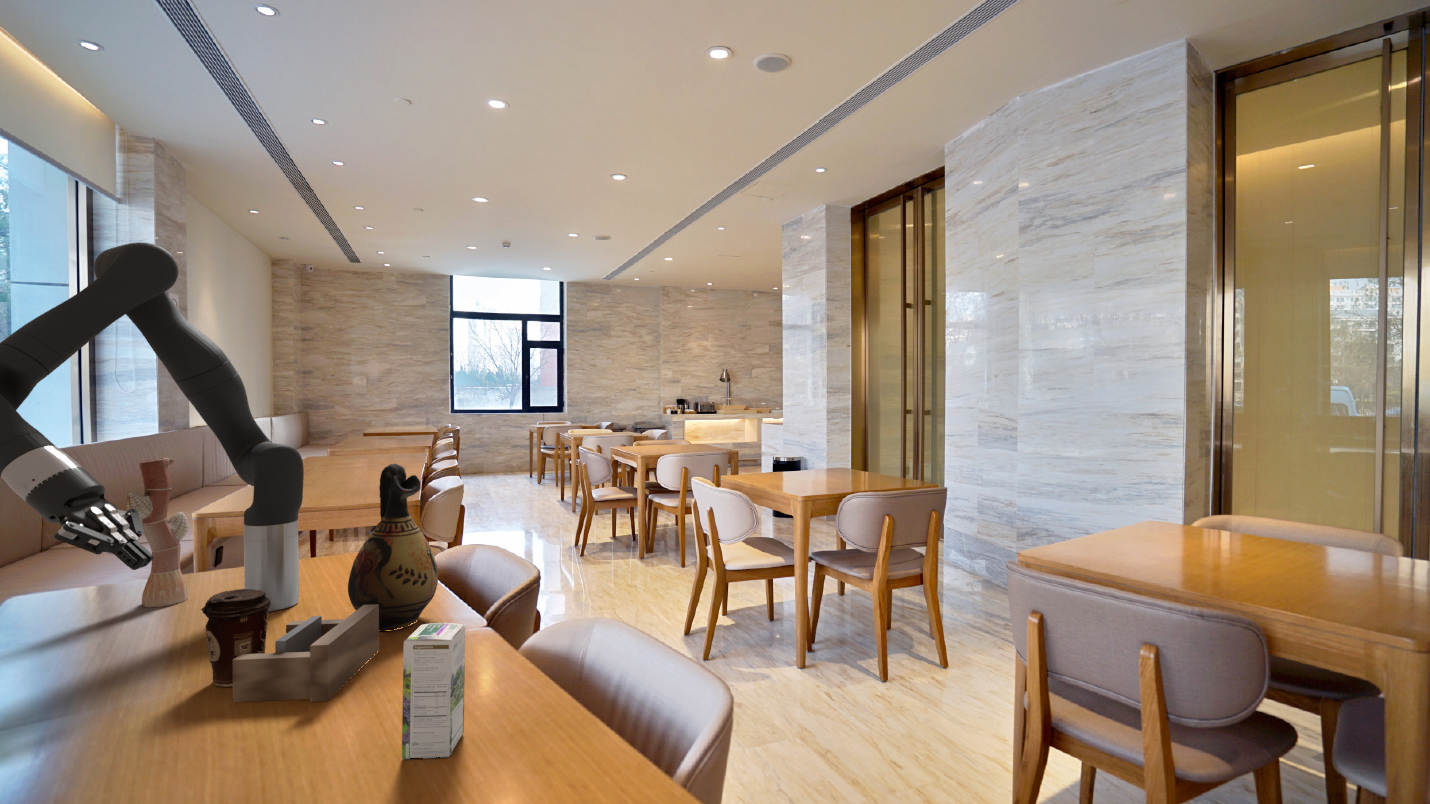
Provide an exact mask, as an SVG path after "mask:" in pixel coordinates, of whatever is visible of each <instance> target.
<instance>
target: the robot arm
mask: <svg viewBox="0 0 1430 804" xmlns="http://www.w3.org/2000/svg"><path fill="white" fill-rule="evenodd" d="M93 271H94V275H95V278H96V279H95V280H94V281H92V282H91V283H90V284H89V285H87V286H86V287H84V288H83V289H82V290H80V291H78V292H77V293H76V294H75V295H72V296H71V297H70V298H67V300H65V301H63V302H61V303H59V304H58V305H56V306H54V307H52V308H50V309H49V310H47V311H45V312H44V313H42V314H40V315H39V316H37V317H35V318H33V319H32V320H30V321H29V322H27V323H26V324H24V325H22V326H21V327H20V328H18V329H17V330H15V331H14V332H13V333H11V334H9V336H7V337H6V338H5V339H3V340H2V341H0V478H1V479H3V480H4V482H5V483H6V484H7V486H8V487H9V488H10V489H11V490H12V491H13V492H14V494H16V495H17V496H18V497H20V498H21V499H22V500H23V501H24V502H25V503H26V504H27V505H29V506H30V507H31V509H33V510H34V511H35V512H37V513H38V514H39V515H40V516H41V517H42V518H43V519H44V520H46V521H47V522H48V523H52V524H57V523H58V524H59V525H60V526H61V528H60V529H59V530H58V531H57V532H56V533H54V535H53V537H54V539H55V540H58V541H61V542H63V543H66V544H69V545H71V546H74V547H75V548H79V549H81V550H84V551H87V552H89V553H92V554H94V555H101V554H102V553H107V554H108V555H114V556H115V557H117V559H119V560H120V561H121V562H122V563H124V565H125V566H127V567H128V568H129V569H130V570H132V571H136V570H138V569H142V568H145V567H147V566H149V564H150V563H152V560H153V559H154V556H153V555H152V552H150V551H149V550H148V549H147V548H146V547H145V546H144V545H142V544H141V543H140V541H139V540H138V539H140V538H141V537H142V536H143V535H144V531H143V527H142V524H141V520H140V517H139V513H138V511H137V510H136V509H134V508H130V509H129V510H128V511H127V510H123V509H118V507H117V505H116V504H115V503H112V502H110V501H109V500H107V499H106V498H105V492H106V488H105V486H104V485H103V484H102V483H101V482H100V481H98V479H96V478H95V477H94V476H93V475H92V474H91V473H90V472H89V471H87V470H86V469H85V468H84V467H83V466H82V465H81V464H79V462H77V461H76V460H75V459H74V458H73V457H71V456H70V455H69V454H68V453H66V452H64V451H63V450H62V449H60V448H59V447H57V445H55V444H54V443H53V442H52V441H51V440H50V439H48V437H46V436H45V435H44V434H43V433H42V432H40V431H39V430H38V429H36V428H35V427H34V426H33V425H32V424H30V423H29V422H28V421H27V420H26V419H25V418H23V417H22V416H21V414H20V413H19V412H18V411H17V410H18V409H19V407H20V406H21V405H22V404H23V403H24V402H25V400H26V399H27V398H28V397H29V396H30V394H31V393H32V391H33V390H34V388H35V387H36V386H37V384H39V383H40V382H41V381H42V380H44V379H45V378H46V377H49V375H51V373H53V372H54V371H55V370H56V369H57V368H59V367H60V366H61V365H63V364H64V363H65V362H67V361H68V360H69V359H70V358H71V357H73V356H74V355H75V354H76V353H77V352H79V351H80V350H81V349H82V348H83V347H84V346H86V345H87V344H88V343H89V342H90V341H92V340H93V339H94V338H95V337H97V336H98V335H99V334H101V333H102V331H104V330H106V329H107V328H108V327H109V326H111V325H112V324H114V323H115V322H116V321H118V320H119V319H120V318H122V317H124V315H126V316H127V317H128V319H130V321H131V322H132V323H133V325H135V327H136V328H137V329H138V331H139V332H140V333H141V335H143V337H144V339H145V341H146V342H147V344H148V345H149V346H150V348H151V349H152V351H153V352H154V353H155V355H156V356H157V358H158V359H159V360H160V362H161V363H162V365H163V366H164V367H165V369H166V371H167V372H168V373H169V375H170V377H171V379H173V381H174V382H175V384H176V385H177V387H178V388H179V389H180V391H181V392H182V393H183V395H184V397H186V399H187V400H188V401H189V403H190V404H191V405H192V406H193V408H194V409H195V410H196V412H197V413H198V415H199V416H200V418H201V419H202V420H203V421H204V422H205V424H206V425H207V426H208V428H209V429H210V430H211V431H212V433H213V434H214V435H215V436H216V438H217V439H218V441H219V443H220V445H221V446H222V448H223V450H224V452H225V454H226V456H227V457H228V460H229V462H230V463H231V464H232V466H233V469H234V470H235V472H236V474H237V475H238V477H239V478H240V479H241V480H242V481H243V482H244V483H245V484H247V485H250V486H251V487H253V496H252V503H251V505H250V506H249V507H248V508H246V509H245V510H244V512H243V563H244V564H243V565H244V566H243V570H244V571H243V573H244V574H243V575H244V576H243V578H244V580H243V581H244V582H243V587H244V588H243V589H253V590H262V591H264V592H265V596H266V597H267V598H269V600H270V601H271V606H270V607H269V608H268V612H275V611H279V610H283V609H287V608H291V607H293V606H295V605H296V604H298V603H299V598H300V554H299V511H300V510H301V507H302V503H303V499H304V498H303V497H304V480H305V479H304V476H305V475H304V474H305V473H304V471H305V469H304V461H303V457H302V456H301V454H300V452H299V451H298V449H296V448H295V447H293V446H291V445H289V444H284V443H283V444H282V443H273V441H271V440H270V439H269V438H268V437H267V435H266V434H265V433H264V432H263V430H262V428H261V427H260V426H259V424H258V423H257V422H256V420H255V418H254V416H253V415H252V414H253V413H251V412H252V411H251V409H250V405H249V400H248V395H247V391H246V387H245V385H244V382H243V379H242V377H241V376H240V374H239V372H238V371H237V369H236V368H235V366H234V365H233V364H232V362H231V360H230V359H229V358H228V356H227V355H226V354H225V352H224V351H223V349H221V348H220V346H218V344H216V342H214V341H213V340H212V339H211V338H210V337H208V336H207V335H206V334H205V333H204V332H202V331H201V330H200V329H198V327H196V326H195V325H194V324H192V323H191V322H190V321H189V320H188V319H187V318H186V317H185V316H184V315H183V314H182V313H181V312H180V311H179V309H178V308H177V307H176V305H175V303H174V302H173V300H172V299H171V298H170V295H169V294H168V293H167V291H169V290H170V289H171V288H173V286H174V285H175V284H176V282H177V280H178V277H179V266H178V263H177V261H176V259H175V257H174V256H173V255H172V254H171V253H170V252H169V251H167V249H165V248H163V247H162V246H160V245H158V244H155V243H150V242H131V243H130V242H129V243H126V244H121V245H118V246H114V247H110V248H108V249H105V250H103V251H102V252H100V253H99V254H98V255H97V256H96V258H95V260H94V264H93Z"/></svg>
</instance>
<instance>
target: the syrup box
mask: <svg viewBox="0 0 1430 804" xmlns="http://www.w3.org/2000/svg"><path fill="white" fill-rule="evenodd" d="M402 657H403V663H402V665H403V666H402V668H403V670H402V710H401V711H402V715H401V716H402V718H401V719H402V720H401V721H402V726H401V728H402V729H401V734H402V735H401V758H402V760H411V759H410V758H423V759H437V758H438V757H440V758H450V757H451V756H452V754H453V752H454V751H455V749H456V747H457V745H458V744H457V743H459V742H460V740H461V739H462V737H463V735H464V733H465V730H464V729H465V728H464V727H465V685H466V684H465V682H466V681H465V680H466V679H465V678H466V677H465V675H466V674H465V673H466V671H465V670H466V662H465V661H466V625H465V624H463V623H462V624H461V623H452V622H435V623H434V622H431V623H425V624H424V623H423V624H421V625H420V626H418V627H417V629H415V630H414V632H412V633H411V634H410V635H409V636H408V637H407V638H406V639H404V641H403V656H402ZM436 757H437V758H436Z"/></svg>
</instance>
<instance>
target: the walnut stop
mask: <svg viewBox="0 0 1430 804" xmlns="http://www.w3.org/2000/svg"><path fill="white" fill-rule="evenodd" d="M306 620H307V619H305V620H291V621H290V622H288V623H287V624H286V625H285V626H286V627H285V632H286V633H285V634H287V633H288V632H290V631H291V630H293V629H294V628H296V627H297V626H299V625H300V624H302V623H303V622H305V621H306ZM378 650H379V651H380V631H379V604H376V605H363V606H362V607H360V608H359V609H358V610H355V611H354V612H353V613H351V614H349V615H348V616H347V617H345V618H343V619H340V618H337V619H322V637H321V638H319V639H318V640H317V641H315V642H314V643H313V644H312V645H310V652H289V653H275V652H270V653H268V652H267V653H266V652H265V653H261V654H241V655H239V656H238V657H236V658H235V659H233V686H232V703H239V702H240V703H241V702H262V701H263V702H264V701H267V702H269V701H289V700H292V701H293V700H308V699H309V700H310V701H309V702H310V703H314V702H315V703H317V702H329V701H330V700H331V699H332V698H333V697H334V696H335V695H337V694H338V692H339V691H340V690H341V689H342V688H344V686H345V685H346V684H347V683H348V682H349V681H350V680H351V679H352V678H353V677H354V676H355V675H356V674H357V673H358V670H359V669H361V667H362V666H363V665H365V663H366V662H367V661H368V660H370V658H372V657H373V656H374V654H376V653H377V651H378ZM377 654H378V653H377ZM377 654H376V655H377ZM374 657H375V656H374ZM374 657H373V658H374ZM373 658H372V659H373ZM370 661H371V660H370ZM365 666H366V665H365ZM361 670H362V669H361ZM355 673H356V674H355ZM354 674H355V675H354ZM351 677H352V678H351ZM350 678H351V679H350ZM347 681H348V682H347ZM346 682H347V683H346ZM343 685H344V686H343ZM340 688H341V689H340ZM339 689H340V690H339Z"/></svg>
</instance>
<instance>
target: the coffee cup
mask: <svg viewBox="0 0 1430 804" xmlns="http://www.w3.org/2000/svg"><path fill="white" fill-rule="evenodd" d="M270 606H271V601H270V600H269V598H267V597H266V596H265V592H264V591H262V590H253V589H244V588H239V589H232V590H227V591H225V590H224V591H222V592H218V593H215V594H213V595H212V596H210V597H209V599H207V600H206V602H205V605H204V606H203V607H202V608H201V609H200V610H201V611H202V613H203V615H205V617H206V618H207V622H206V624H205V634H206V642H207V650H208V656H209V662H210V664H211V669H212V682H213V685H216V686H218V687H225V688H228V687H233V659H235V658H236V657H238V656H239V655H241V654H261V653H266V641H267V631H268V622H269V621H268V619H269V611H268V608H269V607H270Z"/></svg>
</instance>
